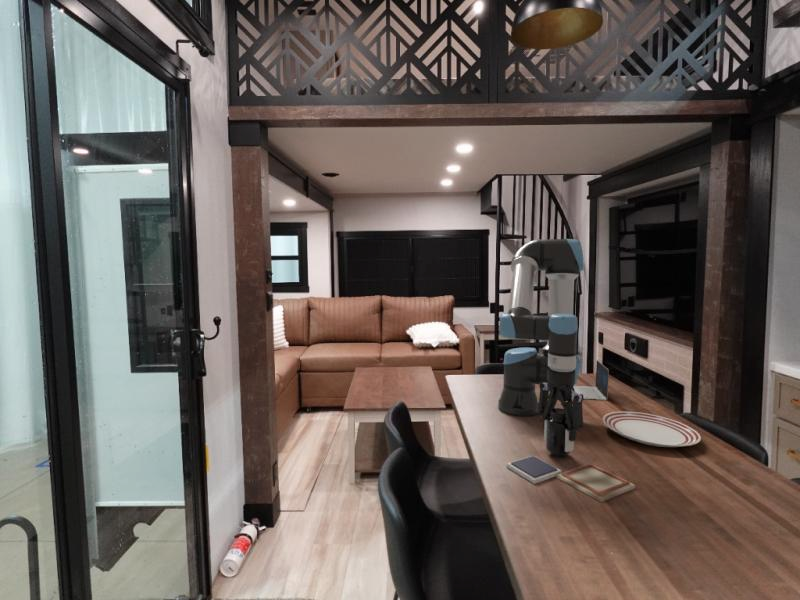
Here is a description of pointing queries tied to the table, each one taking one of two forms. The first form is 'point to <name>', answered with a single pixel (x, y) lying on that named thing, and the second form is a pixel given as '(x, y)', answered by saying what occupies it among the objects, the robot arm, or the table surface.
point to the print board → (596, 482)
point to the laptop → (601, 385)
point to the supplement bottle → (556, 432)
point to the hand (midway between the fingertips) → (558, 445)
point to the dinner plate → (651, 429)
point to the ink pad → (533, 469)
